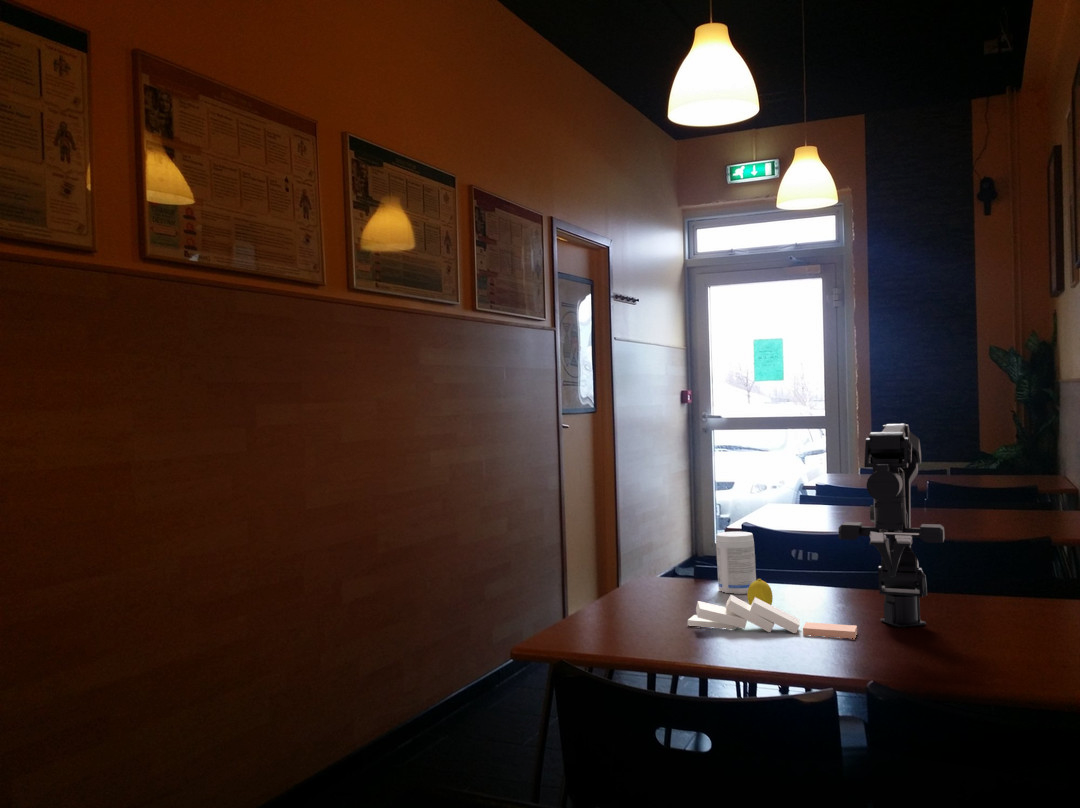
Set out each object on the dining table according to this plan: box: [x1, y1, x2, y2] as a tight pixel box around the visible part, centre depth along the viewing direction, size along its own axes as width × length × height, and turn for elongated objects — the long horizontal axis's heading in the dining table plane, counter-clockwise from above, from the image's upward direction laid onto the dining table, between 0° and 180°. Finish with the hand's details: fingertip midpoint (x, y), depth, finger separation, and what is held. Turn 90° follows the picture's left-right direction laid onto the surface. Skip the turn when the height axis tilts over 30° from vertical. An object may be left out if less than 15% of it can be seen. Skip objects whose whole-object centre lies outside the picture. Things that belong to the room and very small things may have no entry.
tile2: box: [750, 597, 800, 634], centre depth 180 cm, size 2×5×10 cm
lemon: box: [746, 578, 773, 605], centre depth 194 cm, size 6×6×8 cm
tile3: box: [725, 594, 776, 633], centre depth 181 cm, size 2×5×10 cm
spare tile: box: [802, 621, 858, 640], centre depth 175 cm, size 2×5×10 cm
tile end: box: [687, 614, 737, 630], centre depth 185 cm, size 2×5×10 cm
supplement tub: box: [715, 531, 757, 595], centre depth 219 cm, size 10×10×15 cm
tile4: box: [695, 600, 748, 629], centre depth 182 cm, size 2×5×10 cm
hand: (892, 576), depth 167 cm, fingers closed
